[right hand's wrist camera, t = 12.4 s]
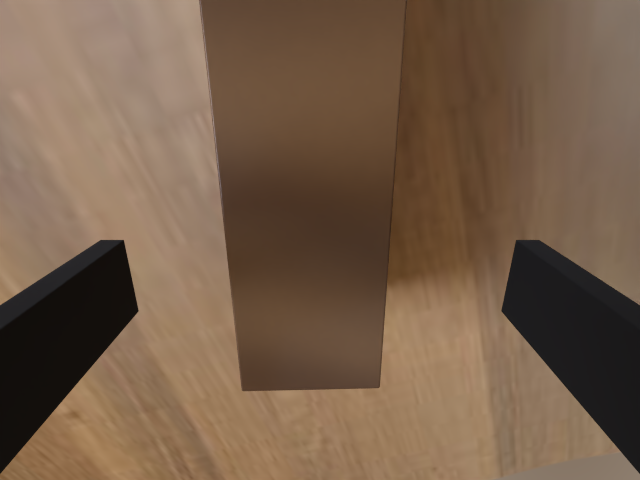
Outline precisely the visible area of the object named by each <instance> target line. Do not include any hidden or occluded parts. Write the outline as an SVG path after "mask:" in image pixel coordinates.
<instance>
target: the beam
mask: <svg viewBox="0 0 640 480" xmlns="http://www.w3.org/2000/svg"><path fill="white" fill-rule="evenodd" d="M199 3H200V12H201V21H202V30H203V39H204V48H205V58H206V67H207V76H208V85H209V94H210V103H211V112H212V122H213V131H214V140H215V149H216V158H217V167H218V176H219V185H220V195H221V204H222V213H223V222H224V231H225V240H226V249H227V259H228V268H229V277H230V286H231V295H232V304H233V313H234V322H235V332H236V341H237V350H238V359H239V368H240V377H241V386H242V391H271V390H314V389H357V388H379V387H380V375H381V360H382V346H383V332H384V318H385V303H386V289H387V275H388V261H389V246H390V232H391V218H392V203H393V189H394V175H395V161H396V146H397V132H398V118H399V104H400V89H401V75H402V61H403V46H404V32H405V18H406V4H407V0H199Z"/></svg>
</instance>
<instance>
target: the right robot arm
mask: <svg viewBox="0 0 640 480" xmlns="http://www.w3.org/2000/svg"><path fill="white" fill-rule="evenodd" d="M137 312H138V306H137V301H136V296H135V292H134V287H133V282H132V277H131V272H130V268H129V263H128V258H127V253H126V249H125V244H124V240H100V241H99V242H97V243H96V244H94V245H93V246H91V247H89V248H88V249H86V250H85V251H83V252H82V253H80V254H79V255H77V256H76V257H74V258H72V259H71V260H69V261H68V262H66V263H65V264H63V265H62V266H60V267H59V268H57V269H56V270H54V271H52V272H51V273H49V274H48V275H46V276H45V277H43V278H42V279H40V280H39V281H37V282H36V283H34V284H32V285H31V286H29V287H28V288H26V289H25V290H23V291H22V292H20V293H19V294H17V295H15V296H14V297H12V298H11V299H9V300H8V301H6V302H5V303H3V304H2V305H0V473H1V472H2V471H3V470H4V469H5V468H6V466H7V465H8V464H9V463H10V462H11V461H12V459H13V458H14V457H15V456H16V455H17V453H18V452H19V451H20V450H21V449H22V448H23V446H24V445H25V444H26V443H27V442H28V441H29V439H30V438H31V437H32V436H33V435H34V433H35V432H36V431H37V430H38V429H39V428H40V426H41V425H42V424H43V423H44V422H45V421H46V419H47V418H48V417H49V416H50V415H51V413H52V412H53V411H54V410H55V409H56V408H57V406H58V405H59V404H60V403H61V402H62V401H63V399H64V398H65V397H66V396H67V395H68V394H69V392H70V391H71V390H72V389H73V388H74V386H75V385H76V384H77V383H78V382H79V381H80V379H81V378H82V377H83V376H84V375H85V374H86V372H87V371H88V370H89V369H90V368H91V366H92V365H93V364H94V363H95V362H96V361H97V359H98V358H99V357H100V356H101V355H102V354H103V352H104V351H105V350H106V349H107V348H108V346H109V345H110V344H111V343H112V342H113V341H114V339H115V338H116V337H117V336H118V335H119V334H120V332H121V331H122V330H123V329H124V328H125V327H126V325H127V324H128V323H129V322H130V321H131V319H132V318H133V317H134V316H135V315H136V314H137ZM502 312H503V314H504V315H505V316H506V317H507V318H508V319H509V321H510V322H511V323H512V324H513V325H514V327H515V328H516V329H517V330H518V331H519V332H520V334H521V335H522V336H523V337H524V338H525V339H526V341H527V342H528V343H529V344H530V345H531V346H532V348H533V349H534V350H535V351H536V352H537V354H538V355H539V356H540V357H541V358H542V359H543V361H544V362H545V363H546V364H547V365H548V366H549V368H550V369H551V370H552V371H553V372H554V374H555V375H556V376H557V377H558V378H559V379H560V381H561V382H562V383H563V384H564V385H565V386H566V388H567V389H568V390H569V391H570V392H571V394H572V395H573V396H574V397H575V398H576V399H577V401H578V402H579V403H580V404H581V405H582V406H583V408H584V409H585V410H586V411H587V412H588V413H589V415H590V416H591V417H592V418H593V419H594V421H595V422H596V423H597V424H598V425H599V426H600V428H601V429H602V430H603V431H604V432H605V433H606V435H607V436H608V437H609V438H610V439H611V441H612V442H613V443H614V444H615V445H616V446H617V448H618V449H619V450H620V451H621V452H622V453H623V455H624V456H625V457H626V458H627V459H628V460H629V462H630V463H631V464H632V465H633V466H634V468H635V469H636V470H637V471H638V472H639V473H640V305H638V304H637V303H635V302H634V301H632V300H631V299H629V298H628V297H626V296H625V295H623V294H621V293H620V292H618V291H617V290H615V289H614V288H612V287H611V286H609V285H608V284H606V283H604V282H603V281H601V280H600V279H598V278H597V277H595V276H594V275H592V274H591V273H589V272H588V271H586V270H584V269H583V268H581V267H580V266H578V265H577V264H575V263H574V262H572V261H571V260H569V259H568V258H566V257H564V256H563V255H561V254H560V253H558V252H557V251H555V250H554V249H552V248H551V247H549V246H547V245H546V244H544V243H543V242H541V241H540V240H516V244H515V249H514V253H513V258H512V263H511V268H510V272H509V277H508V282H507V287H506V292H505V296H504V301H503V306H502Z"/></svg>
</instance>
